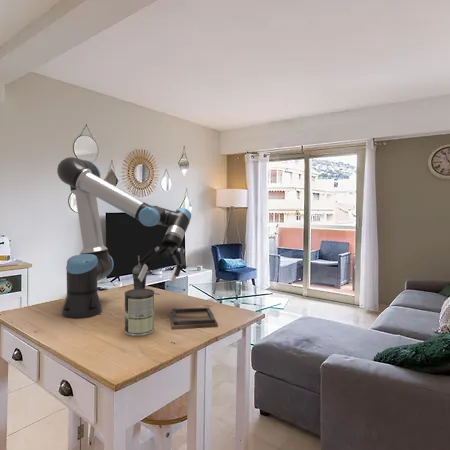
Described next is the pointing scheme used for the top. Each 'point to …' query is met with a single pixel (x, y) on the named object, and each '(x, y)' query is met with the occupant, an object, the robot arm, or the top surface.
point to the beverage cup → (137, 282)
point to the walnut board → (192, 318)
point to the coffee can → (139, 312)
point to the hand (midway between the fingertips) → (155, 281)
